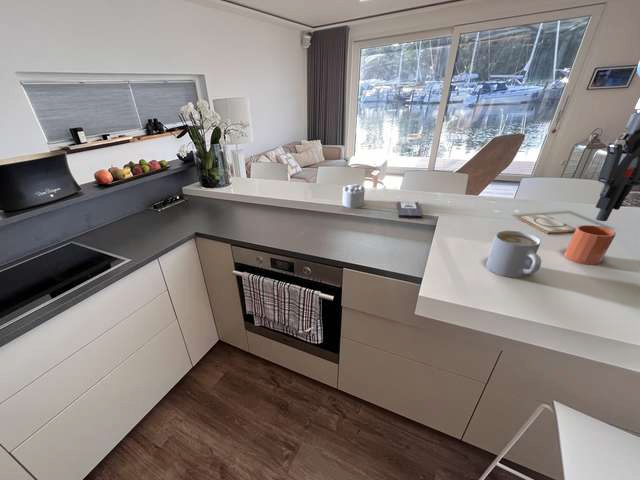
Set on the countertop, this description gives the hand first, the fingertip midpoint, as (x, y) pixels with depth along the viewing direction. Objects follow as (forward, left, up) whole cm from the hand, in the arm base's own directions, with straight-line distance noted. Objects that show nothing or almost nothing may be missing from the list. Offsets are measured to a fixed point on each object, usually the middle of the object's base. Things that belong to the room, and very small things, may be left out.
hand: (607, 208), depth 78 cm
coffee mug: (+24, +5, -16) cm, 29 cm away
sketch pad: (-13, -25, -16) cm, 32 cm away
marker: (0, 0, -3) cm, 3 cm away
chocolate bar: (+33, -49, -16) cm, 61 cm away
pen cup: (0, 0, -16) cm, 16 cm away
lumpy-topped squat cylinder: (+55, -64, -16) cm, 86 cm away
